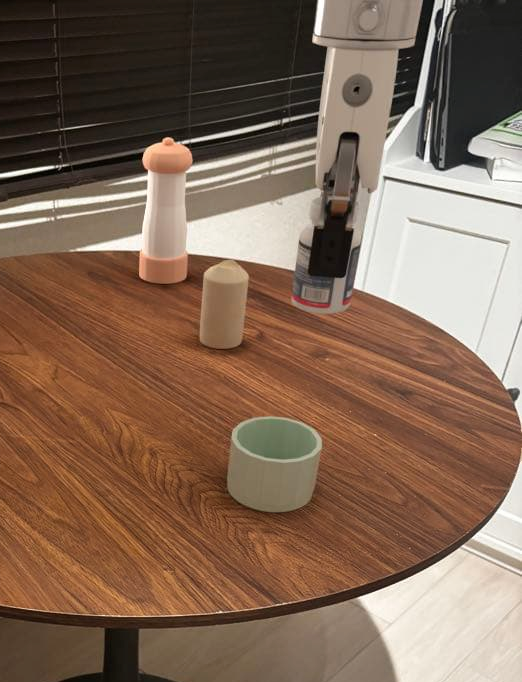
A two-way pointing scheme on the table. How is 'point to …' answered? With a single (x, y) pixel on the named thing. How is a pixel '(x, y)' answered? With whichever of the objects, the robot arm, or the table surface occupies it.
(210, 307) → the candle
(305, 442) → the cup
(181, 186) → the pepper shaker
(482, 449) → the table surface
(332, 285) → the pill bottle
